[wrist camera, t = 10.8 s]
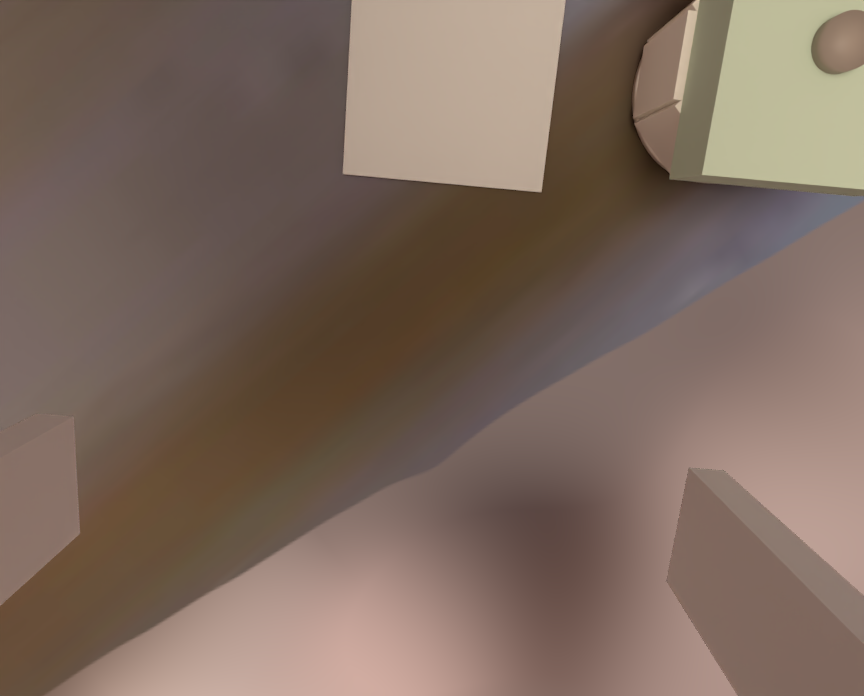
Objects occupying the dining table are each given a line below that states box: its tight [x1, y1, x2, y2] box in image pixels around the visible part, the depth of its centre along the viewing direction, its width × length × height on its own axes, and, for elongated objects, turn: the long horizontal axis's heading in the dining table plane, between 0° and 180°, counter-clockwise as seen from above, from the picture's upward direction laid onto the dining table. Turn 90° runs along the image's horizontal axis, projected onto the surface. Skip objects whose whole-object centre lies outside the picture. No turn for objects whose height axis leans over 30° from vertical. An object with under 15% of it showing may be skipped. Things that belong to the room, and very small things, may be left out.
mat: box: [343, 0, 566, 192], centre depth 37 cm, size 14×13×1 cm
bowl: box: [632, 0, 715, 184], centre depth 34 cm, size 11×11×8 cm
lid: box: [669, 0, 864, 196], centre depth 28 cm, size 12×10×5 cm
